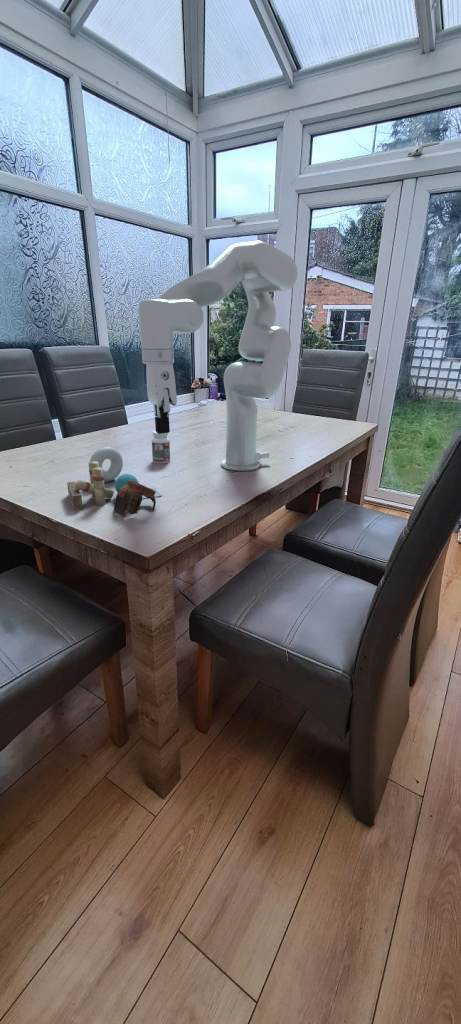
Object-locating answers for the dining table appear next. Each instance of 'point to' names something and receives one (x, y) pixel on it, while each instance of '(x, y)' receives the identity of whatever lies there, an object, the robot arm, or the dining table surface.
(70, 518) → the dining table surface
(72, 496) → the stopper strip
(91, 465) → the pin
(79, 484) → the front pin
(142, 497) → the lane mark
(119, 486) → the ball
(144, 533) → the dining table surface
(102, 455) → the donut
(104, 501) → the pin
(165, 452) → the pill bottle
